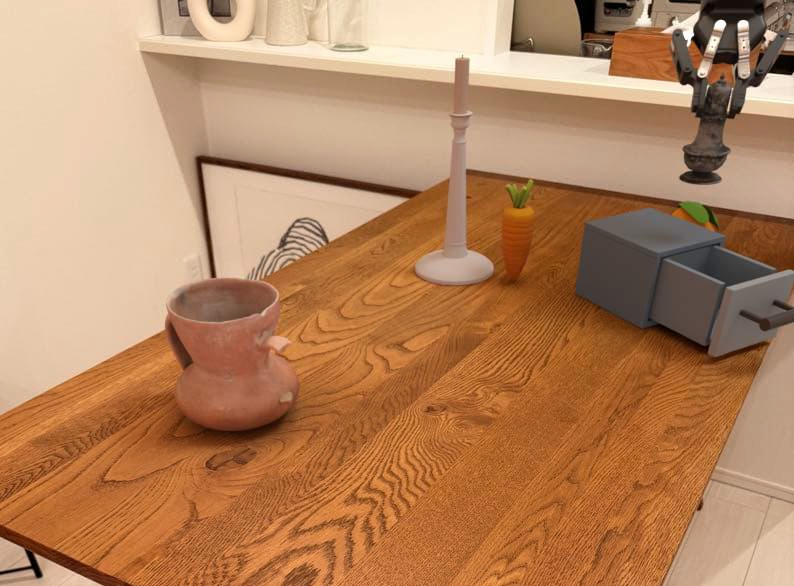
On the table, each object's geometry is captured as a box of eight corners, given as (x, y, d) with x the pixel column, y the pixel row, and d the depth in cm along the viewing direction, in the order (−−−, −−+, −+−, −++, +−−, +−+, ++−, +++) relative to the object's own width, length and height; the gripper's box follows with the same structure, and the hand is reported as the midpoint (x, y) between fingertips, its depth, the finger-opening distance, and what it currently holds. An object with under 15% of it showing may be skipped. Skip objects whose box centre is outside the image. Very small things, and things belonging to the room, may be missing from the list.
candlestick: (505, 263, 126) (522, 50, 107) (475, 290, 118) (488, 64, 98) (435, 251, 131) (439, 45, 112) (401, 277, 123) (400, 58, 103)
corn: (709, 189, 130) (744, 229, 115) (701, 235, 135) (733, 278, 119) (664, 193, 131) (692, 232, 115) (658, 238, 135) (684, 281, 120)
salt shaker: (667, 175, 101) (687, 70, 93) (706, 170, 102) (729, 66, 94) (693, 187, 97) (717, 78, 89) (733, 182, 98) (760, 74, 90)
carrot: (493, 285, 119) (500, 183, 110) (501, 273, 123) (509, 174, 113) (524, 289, 118) (534, 186, 108) (531, 277, 121) (542, 177, 112)
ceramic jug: (334, 404, 92) (325, 290, 83) (253, 462, 83) (233, 340, 74) (225, 366, 100) (207, 258, 91) (140, 415, 91) (110, 300, 82)
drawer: (806, 351, 99) (830, 284, 93) (744, 372, 95) (765, 304, 89) (699, 301, 111) (715, 240, 106) (640, 318, 107) (653, 256, 101)
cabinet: (706, 309, 111) (726, 235, 104) (641, 329, 107) (657, 252, 100) (636, 276, 121) (650, 207, 114) (574, 293, 117) (584, 221, 110)
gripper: (681, -44, 92) (660, 92, 91) (808, -46, 89) (787, 95, 88) (671, 4, 99) (651, 131, 98) (788, 4, 96) (769, 135, 95)
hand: (716, 113), depth 93 cm, fingers closed on salt shaker, 3 cm apart
